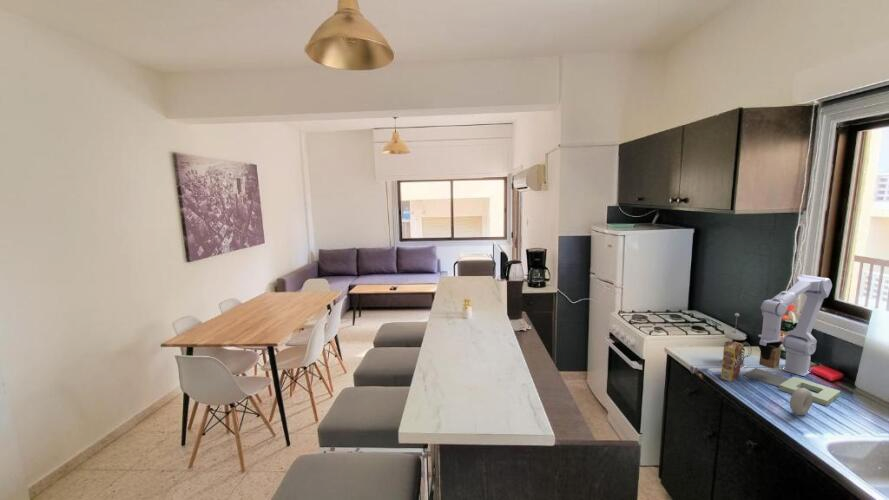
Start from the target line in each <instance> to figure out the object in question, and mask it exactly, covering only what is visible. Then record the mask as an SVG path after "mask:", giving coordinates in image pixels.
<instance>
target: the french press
mask: <svg viewBox="0 0 889 500" xmlns="http://www.w3.org/2000/svg"><path fill="white" fill-rule="evenodd" d="M734 316H735V318H736V319H735V324H737V323H738V322H737V321H738V317H740V314H739V313H738V312H736V313H734ZM736 331H737V327H735V331H732V332H725V333H724V337H726V338H727V339H730V340H734V341H733V342H736V341H744V342H742V343H741V344H743V346H742V354H741V363H740V369H743V368H742V367H744V366H745V365H746V364H745V362H744V361H745V358H748V357H750V356H751V355H752V349H753V348H752V346H751V345H750V344H749V343H748V342H747V341H745V340H746V339H747V337H746V336H744V335H743V334H740V333H739V332H736ZM730 342H731V341H725V342H724V345H723V347H724V346H725V345H727V344H729V343H730ZM745 346H746V347H747V348H748V350H750V351H748V353H747V355H746V356H745ZM722 354H724V351H723V353H722ZM719 363H720V364H722V363H723V358H722V359H720V361H719Z"/></svg>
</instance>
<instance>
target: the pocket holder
mask: <svg viewBox="0 0 889 500" xmlns="http://www.w3.org/2000/svg"><path fill="white" fill-rule="evenodd" d="M798 388H806V389H808V390H809V391H810V392H811V394H812V402H814V403H817V404H820V405H823V406H828V405H830V404H831V403H832V402H834V401H835V400H836V399H838V398H839V397H840V396H841V390H838V389H835V388H832V387H829V386H826V385H823V384H820V383H817V382H813V381H810V380H807V379H804V378H800V377H797V376H794V375H793V376H791V377H790V378H789V379H788V380H787V381H785V382H783V383H782V384H780V385H779V387H778V390H780V391H782V392H786V393H788V394H791V395H792V394H793V393H794V391H795V390H796V389H798Z"/></svg>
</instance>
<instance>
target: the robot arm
mask: <svg viewBox="0 0 889 500" xmlns="http://www.w3.org/2000/svg"><path fill="white" fill-rule="evenodd" d="M832 288H833V283H832V280H831V279H830V278H829V277H821V276H815V275H809V274H807V275H806V274H803V273H802V274H800V275H798V276H797V277H796V278H795V284H793V285H792V286H791V287H790V288H789V289H788V290H782V291H781V292H779V293H778V294H776V295H775V296H773V298H771V299H766V300H763V302H762V303H761V305H760V310H761V315H762V316H763V319H762V329H761V334H757V336H758V337H759V338H760V340H759V341H757V342H756V344H757V346H758V348H759V350H760V353H761V355H762V359H766V360H769V358H770V355H771V352H772V350H773V349H774V347H776V348H780V347H781V345H782V347H783V348H784V350H785V351H786V353H785V354H786V355H785V362H784V363H785V364H784V366H785V368H784V369H783V368H782V367H780V370H781V369H782V370H781V371H785V372H788V373H791V374H796V375H798V376H800V377H801V376H802V377H806V376H807V375H808V374H810V373H811V372H809V371H808V370H809V369H810V367H811V356H812V355H813V354H815V352H816V349H817V343H818V340H817V339H816V338H815V337H814V336H813V334H812V331H813V328H814V326H815V323H816V321H817V318H818V315H819V313H820V312H819V311H820V309H821V307H822V305H823V302H824V299H826V298H829V295H830V293H831V290H832ZM802 294H804V295H805V296H806V299H805V302H804V304H803V306H802V310H801V313H800V315H799V318H798V321H797V323H796V326H795V328H794V329H792V330H788V331H787V332H786V334H785V335H784V336H783V338H782V339H781V326H782V319H783V318H782V317H783V316H784V315H785V314H786V313H787V311H788V308H789V306H792V304H794V303H795V302H796V301H797V297H798V296H800V295H802Z"/></svg>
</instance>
